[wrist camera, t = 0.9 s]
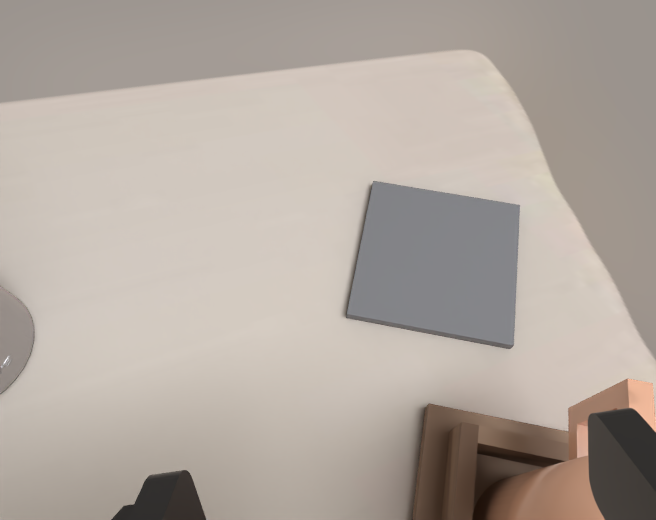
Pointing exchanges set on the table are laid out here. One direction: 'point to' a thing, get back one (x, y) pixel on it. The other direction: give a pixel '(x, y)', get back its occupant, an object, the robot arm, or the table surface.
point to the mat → (438, 264)
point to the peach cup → (564, 467)
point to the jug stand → (476, 458)
